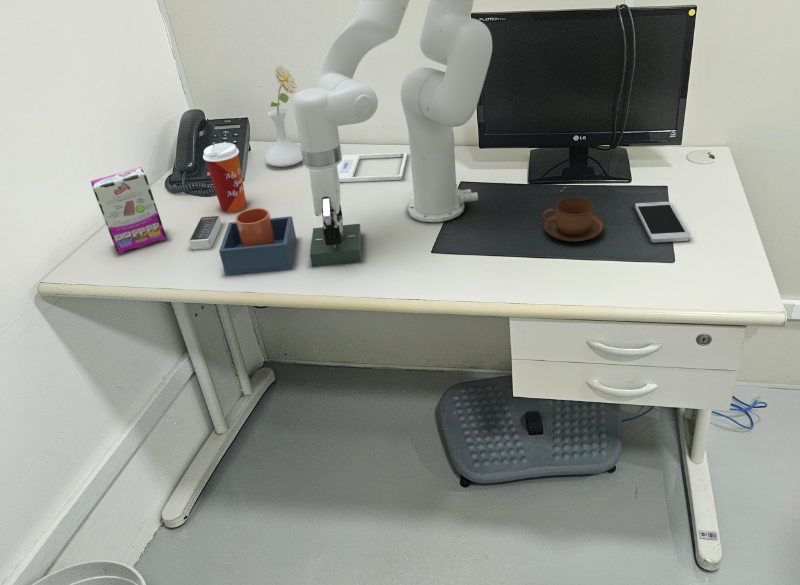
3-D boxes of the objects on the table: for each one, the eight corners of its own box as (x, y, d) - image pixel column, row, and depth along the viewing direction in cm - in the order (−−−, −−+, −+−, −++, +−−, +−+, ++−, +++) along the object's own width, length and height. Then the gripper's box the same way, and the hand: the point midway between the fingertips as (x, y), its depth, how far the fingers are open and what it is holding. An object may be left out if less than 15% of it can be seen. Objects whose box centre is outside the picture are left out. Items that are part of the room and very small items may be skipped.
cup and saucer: (554, 251, 141) (555, 223, 137) (535, 223, 151) (536, 197, 147) (612, 241, 142) (615, 214, 138) (590, 214, 152) (591, 188, 148)
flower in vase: (289, 173, 184) (270, 77, 170) (257, 166, 190) (236, 73, 176) (320, 154, 193) (305, 62, 179) (288, 148, 199) (271, 58, 185)
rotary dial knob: (326, 234, 149) (322, 214, 146) (344, 232, 149) (341, 212, 146) (325, 244, 145) (322, 223, 143) (345, 241, 145) (341, 221, 143)
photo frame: (339, 154, 188) (407, 151, 186) (340, 158, 189) (407, 155, 187) (329, 178, 176) (401, 175, 174) (330, 182, 177) (401, 179, 175)
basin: (296, 239, 154) (291, 216, 151) (291, 268, 144) (286, 244, 141) (234, 245, 155) (228, 222, 151) (225, 275, 145) (218, 251, 141)
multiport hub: (191, 249, 155) (188, 240, 154) (203, 225, 164) (200, 216, 163) (210, 248, 155) (208, 239, 153) (221, 224, 164) (219, 215, 162)
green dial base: (361, 235, 153) (359, 222, 151) (360, 262, 144) (359, 248, 142) (315, 240, 153) (313, 227, 152) (312, 266, 144) (309, 253, 142)
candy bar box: (163, 231, 163) (142, 165, 154) (167, 240, 160) (146, 173, 150) (113, 246, 160) (89, 179, 150) (117, 255, 156) (92, 187, 147)
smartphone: (651, 242, 140) (652, 238, 139) (634, 206, 152) (634, 202, 152) (689, 240, 139) (690, 236, 138) (668, 204, 152) (668, 200, 151)
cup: (278, 244, 152) (270, 206, 147) (275, 260, 146) (266, 222, 141) (247, 247, 152) (238, 209, 147) (242, 263, 146) (233, 225, 141)
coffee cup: (243, 215, 167) (229, 155, 158) (211, 214, 168) (195, 155, 160) (256, 199, 173) (243, 141, 165) (225, 198, 175) (210, 141, 167)
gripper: (305, 139, 144) (318, 215, 154) (298, 175, 130) (313, 256, 139) (342, 135, 144) (353, 211, 153) (339, 171, 129) (351, 252, 139)
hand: (334, 232), depth 146 cm, fingers open, 8 cm apart
